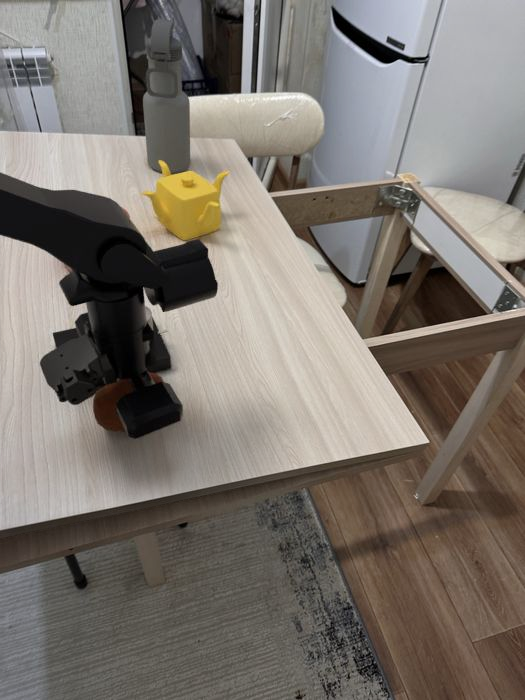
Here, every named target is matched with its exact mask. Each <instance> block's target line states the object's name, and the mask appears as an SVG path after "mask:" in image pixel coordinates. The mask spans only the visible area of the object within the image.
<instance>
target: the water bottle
mask: <svg viewBox="0 0 525 700" xmlns="http://www.w3.org/2000/svg"><path fill="white" fill-rule="evenodd" d="M174 24H175V23H174V21H173V20H171V19H167V18H158V19H155V20H154V22H153V24H152V26H151V32H150V37H149V38H147V39H146V40H145V46H146V47H145V48H146V59H147V63H148V68H147V70H146V72H145V81H146V92H145V93H143V98H142V107H143V120H144V132H145V146H146V148H145V149H146V160H147V161H146V162H147V164H148V165H149V167H150V168H151V169H153V170H155V172H159V173H162V169H161V166H160V164H159V162H158V161H159V160H162V161H164V162H165V163H166V164H167V166H168V168H169V170H170V173H171V174H178V173H182V172H185V171H186V170H187V169H188V168H190V165H191V104H190V98H189V97H188V95H187V93H186V92H184V91H183V90H182V89H183V87H182V86H183V85H182V84H183V83H182V82H183V81H182V62H183V43H182V42H181V40H179V39H178V38H175V37H173V30H174V29H175V25H174Z"/></svg>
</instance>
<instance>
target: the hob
mask: <svg viewBox="0 0 525 700" xmlns="http://www.w3.org/2000/svg"><path fill="white" fill-rule="evenodd" d="M152 322H153V332H154V339H153V341H152V342H151V343H150V344H149V348H150V349H151V351H152V353H153V354H154V356H155V358H156V364H157V365H154V366H151V367H148V368H146V370H147V371H148V372H151V373H155V374H157V373H158V372H163V371H167V370H170V369H172V357H171V354H170V352H169V350H168V348H167V345H166V343H165V341H164V339H163V336H162V334H166V333H168V329H164V330H159V328H158V326H157V323H156V321H155V319H154V316H152ZM52 337H53V341H54V346H55V349H56V348H58V347H59V346H61V345H63V344H64V343H66V342H68V341H69V340H71V339H77V338H78V337H79V335H78V333H77V330H76V327H73V328H69V329H68V328H67V329H63V330H60V331H55V332H52ZM95 386H96V388H97V389H98V388H99V389H100V388H103V387H104V386H106V385H105V383H104V380H103V377H102V378H101V379H100V381H99V382H98V383H96V385H95Z"/></svg>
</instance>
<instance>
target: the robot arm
mask: <svg viewBox="0 0 525 700" xmlns="http://www.w3.org/2000/svg"><path fill="white" fill-rule="evenodd" d="M121 207H122V206H121ZM121 207H120V204H119V203H118V202H117V201H115V200H114V199H112V198H110V197H107V196H103V195H99V194H95V193H91V192H88V191H87V192H86V191H81V190H78V189H56V190H55V189H49V188H45V187H40V186H38V185H37V186H36V185H34V184H32V183H30V182H26V181H24V180H21V179H19V178H16V177H14V176H11V175H8V174H5V173H4V172H0V236H1V237H5V238H8V239H12V240H15V241H18V242H21V243H24V244H28V245H30V246H31V245H32V246H34V247H36V248H38V249H40V250H43V251H45V252H46V253H47V254H49V255H51V256H52V257H54V258H55V259H56V260H58V261H59V262H61V263H62V264H63V265H64V264H65V265H67V266H68V267H70V268H71V269H72V271H71V272H68V274H66V275H64V276H63V277H62V278H61V279H60V280H59V281H58V285H59V287H60V289H61V291H62V293H63V295H64V297H65V299H66V301H67V303H68V305H69V306H71V307H76V306H79V305H83V304H85V305H86V310H87V312H84V313H80V314H79V315H78V317H77V318H76V319H75V320H74V325H75V326H74V327H75V328H76V330H77V333H78V335H79V337H78V338H77V339H71V340H69V341H68V342H66V343H64V344H63V345H61V346H59V347H58V348H56V347H55V348H54V349H52V350H51V351H49V352H48V353H46V354H44V355H43V356H42V357H41V358H40V361H39V367H40V369H41V371H42V374H43V376H44V379H45V381H46V384H47V385H48V386H49V387H50V388H51V389H52V390H53V391H54V393H55V394H56V396H57V399H58V401H59V402H60V403H66V402H68V403H69V404H70V405H72V406H77V405H80V404H82V403H83V402H85V401H87V400H88V399H90V398H91V397H92V396H95V394H96V392H97V391H98V388H96V386H95V385H96V383H98V382H99V381H100V379H101V378H102V377H103V380H104V383H105V385H109V384H112V383H115V382H117V381H119V380H122V379H128V381H129V383H130V385H131V387H132V389H133V391H134V392H131V393H128V394H126V395H123V396H122V397H121V398H120V399H119V400H118V402H117V403H116V404H115V405H116V408H115V410H116V412H117V414H118V416H119V419H120V421H121V423H122V425H123V427H124V429H125V431H124V432H125V433H126V435H127V437H128V438H129V439H133V440H137V439H141V438H143V437H145V436H147V435H150V434H152V433H154V432H157V431H159V430H162V429H164V428H167V427H169V426H171V425H174V424H176V423H179V422H181V420H182V418H183V416H184V413H183V412H184V410H183V408H184V405H183V404H182V402H181V400H180V398H179V397H178V395H177V394H176V391H175V390H174V388H173V387H172V385H171V383H168V382H165V381H164V382H162V381H161V382H159V383H156V384H155V383H154V382H153V380H152V378H151V376H150V375H149V373H148V371H147V370H146V368H148V367H151V366H154V365H157V364H156V358H155V356H154V354H153V353H152V351H151V349H150V348H149V340H152V339H154V332H153V330H152V328H151V327H150V325H149V324H148V322H147V319H146V309H145V306H146V301H145V296H146V298H147V300H148V302H149V303H150V304H151V305H152V306H157V305H158V306H159V307H160V309H161V311H162V313H167V312H170V311H171V312H172V311H175V310H178V309H181V308H184V307H187V306H190V305H194V304H197V303H201V302H203V301H207V300H210V299H214V298H215V297H216V296H217V293H218V289H219V284H218V281H217V279H216V274H215V270H214V268H213V264H212V263H211V260H210V258H209V248H208V246H206V244H205V243H203V241H202V240H201V239H200V238H195V239H191V240H189V241H188V240H187V241H186V242H184V243H182V244H178V245H175V246H174V245H173V246H170V247H166V248H162V249H158V250H153V249H152V247H151V246H150V245H149V244H148V241H146V238H145V237H144V236H143V234H142V233H141V232H140V230H139V229H138V228H137V227H136V224H135V223H134V222H133V221H132V219H131V217H130V218H129V217H128V216H127V214H126V213H125V212H124V210H123V209H122V208H123V207H122V208H121ZM139 375H140V376H139ZM142 381H143V382H144V383H143V382H142Z"/></svg>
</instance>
